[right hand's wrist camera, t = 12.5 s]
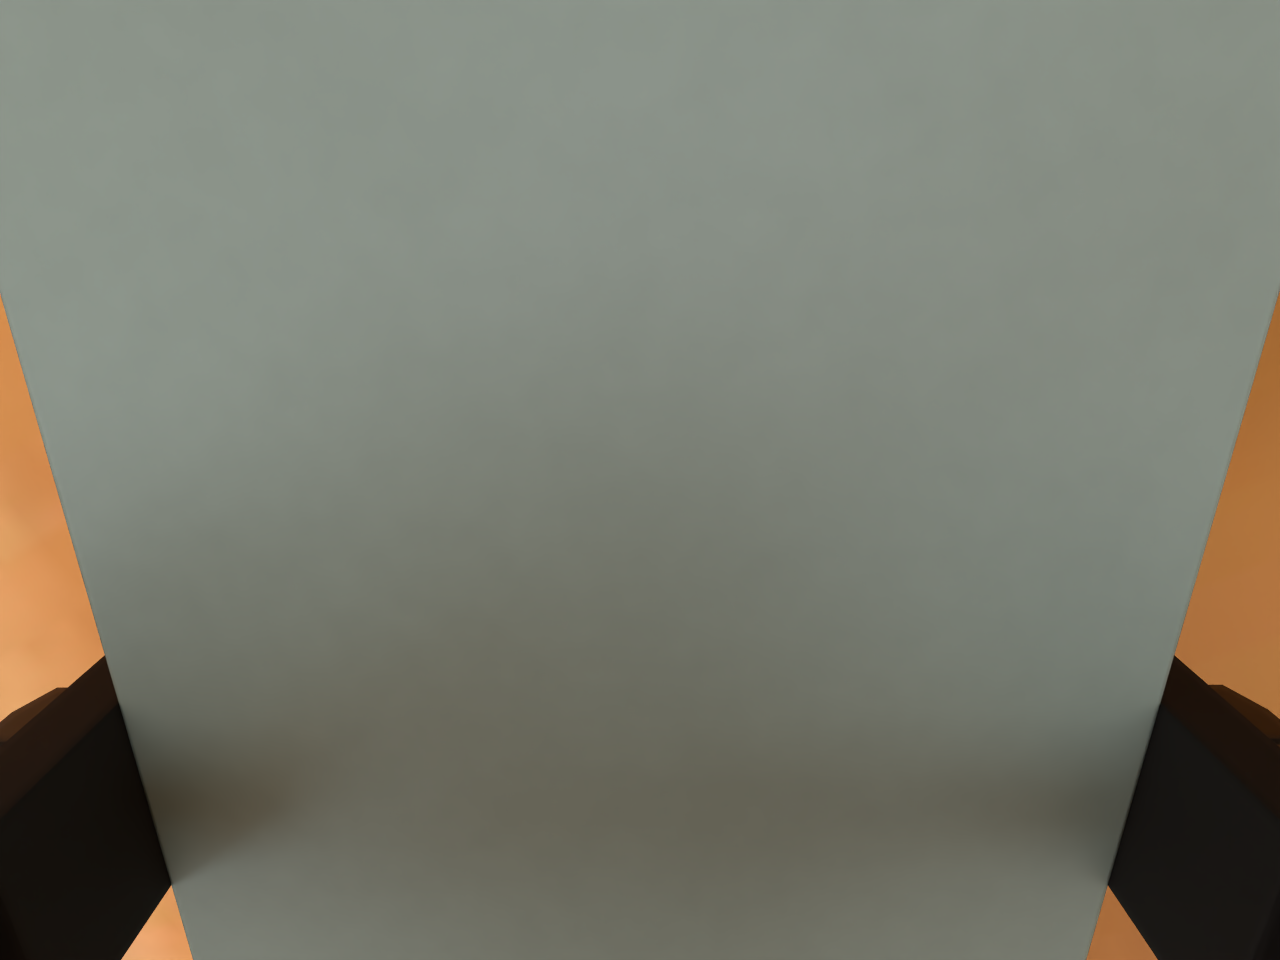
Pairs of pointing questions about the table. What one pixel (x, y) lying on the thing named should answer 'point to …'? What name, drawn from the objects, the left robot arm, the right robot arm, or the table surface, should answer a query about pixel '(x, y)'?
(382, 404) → the grey box
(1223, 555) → the table surface
